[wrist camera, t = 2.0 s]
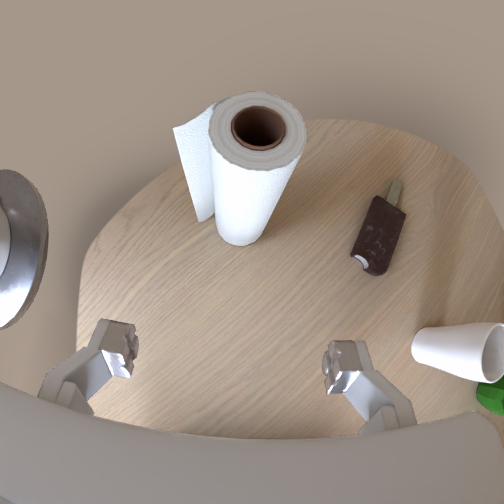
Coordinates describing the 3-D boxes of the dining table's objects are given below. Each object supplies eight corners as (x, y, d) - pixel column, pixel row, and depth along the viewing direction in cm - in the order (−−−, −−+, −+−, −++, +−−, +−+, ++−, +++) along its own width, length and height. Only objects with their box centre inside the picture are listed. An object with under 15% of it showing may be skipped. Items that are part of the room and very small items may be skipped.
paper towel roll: (273, 217, 38) (325, 121, 17) (246, 256, 37) (273, 190, 16) (227, 186, 38) (232, 68, 18) (198, 222, 37) (171, 125, 16)
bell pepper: (472, 371, 37) (514, 377, 27) (499, 360, 38) (538, 363, 28) (468, 415, 35) (506, 428, 26) (495, 402, 36) (532, 410, 26)
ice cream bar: (381, 172, 41) (346, 261, 38) (386, 168, 39) (351, 259, 36) (409, 191, 41) (378, 279, 38) (414, 187, 39) (384, 278, 36)
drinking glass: (446, 343, 37) (519, 348, 23) (420, 376, 36) (491, 395, 21) (425, 312, 38) (501, 308, 23) (397, 346, 37) (471, 358, 22)
